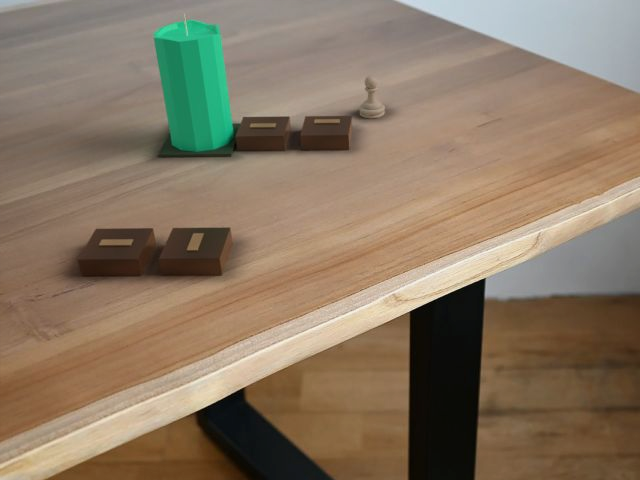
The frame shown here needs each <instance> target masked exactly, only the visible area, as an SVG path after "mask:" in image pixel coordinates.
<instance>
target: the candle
mask: <svg viewBox="0 0 640 480" xmlns="http://www.w3.org/2000/svg"><path fill="white" fill-rule="evenodd" d="M182 16H183V21H176V22H173V23H170V24H166V25H163V26H161V27H159V28H158V29H157V30H156V31H154V33H153V34H152V35H153V42H154V48H155V54H156V59H157V65H158V71H159V76H160V82H161V87H162V88H161V89H162V94H163V99H164V105H165V112H166V117H167V124H168V129H169V133H170V135H171V141H172V145H173V146H174V147H176V148H178V149H180V150H184V151H194V152H199V151H207V150H214V149H217V148H219V147H222V146H224V145H227V144H228V143H229V142H230V141H231V140H232V139H233V138H234V133H233V125H232V124H233V118H232V110H231V103H230V95H229V87H228V79H227V74H226V67H225V66H226V64H225V57H224V50H223V49H224V48H223V42H222V41H223V40H222V34H221V30H220V25H219V24H215V23H214V24H212V23H206V22H203V21H199V20H196V19H188V20H187V19H186V13H185V12H183V13H182Z"/></svg>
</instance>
